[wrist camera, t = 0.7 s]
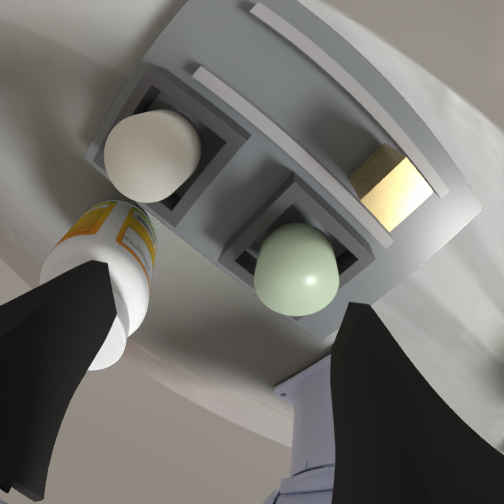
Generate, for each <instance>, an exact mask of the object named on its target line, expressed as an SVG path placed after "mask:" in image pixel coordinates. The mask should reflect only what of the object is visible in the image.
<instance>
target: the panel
mask: <svg viewBox="0 0 504 504" xmlns="http://www.w3.org/2000/svg"><path fill="white" fill-rule="evenodd" d="M158 109H170V110H174V111H177V112H179V113H181V114H183V115H185V116H186V117H187V118H188V119H190V120H191V122H192V123H193V124H194V125H195V127H196V128H197V130H198V132H199V135H200V138H201V143H202V154H201V159H200V162H199V165H198V167H197V169H196V170H195V171H194V173H193V174H192V175H191V176H190V177H189V178H188V179H187V180H186V181H185V182H184V183H183V184H182V185H180V186H179V187H178V188H177V189H176V190H175V191H174V192H173V193H172V194H171V195H170V196H168V197H167V198H165V199H163V200H161V201H157V202H152V203H143V202H138V201H135V202H136V203H138V204H139V205H140V206H141V207H143V208H144V209H145V210H146V211H148V212H149V213H150V214H151V215H152V216H154V217H155V218H156V219H157V220H159V221H160V222H161V223H163V224H164V225H165V226H166V227H168V228H169V229H170V230H171V231H173V232H174V233H175V234H176V235H178V236H179V237H180V238H181V239H183V240H184V241H185V242H187V243H188V244H189V245H190V246H192V247H193V248H194V249H196V250H197V251H198V252H199V253H201V254H202V255H203V256H205V257H206V258H207V259H208V260H210V261H211V262H212V263H214V264H215V265H216V266H218V267H219V268H220V269H221V270H223V271H224V272H225V273H227V274H228V275H229V276H231V277H232V278H233V279H235V280H236V281H237V282H238V283H240V284H241V285H242V286H244V287H245V288H246V289H248V290H249V291H250V292H252V293H253V294H254V295H256V296H257V297H258V295H257V293H256V291H255V288H254V274H255V269H256V265H257V260H258V255H259V251H260V247H261V244H262V242H263V240H264V239H265V237H266V236H267V235H268V234H269V233H270V232H271V231H272V230H274V229H275V228H277V227H279V226H281V225H284V224H288V223H305V224H309V225H312V226H314V227H316V228H318V229H320V230H321V231H322V232H324V233H325V235H326V236H327V237H328V238H329V240H330V241H331V243H332V246H333V250H334V254H335V259H336V264H337V270H338V275H339V287H338V290H337V293H336V295H335V297H334V298H333V300H332V301H331V302H330V303H329V304H328V305H327V306H326V307H324V308H323V309H321V310H320V311H318V312H315V313H313V314H309V315H304V316H288V315H283V314H281V315H283V316H284V317H285V318H287V319H288V320H289V321H291V322H292V323H293V324H295V325H296V326H298V327H299V328H300V329H302V330H303V331H304V332H306V333H307V334H309V335H310V336H311V337H313V338H314V339H316V340H317V341H318V342H319V341H321V340H322V339H324V338H325V337H327V336H328V335H330V334H331V333H333V332H334V331H335V330H337V329H338V328H340V326H341V323H342V320H343V317H344V315H345V312H346V309H347V306H348V303H349V302H356V303H364V304H369V305H371V304H373V303H374V302H375V301H377V300H378V299H379V298H381V297H382V296H383V295H385V294H386V293H387V292H388V291H390V290H391V289H392V288H394V287H395V286H396V285H397V284H399V283H400V282H401V281H402V280H404V279H405V278H406V277H407V276H408V275H410V274H411V273H412V272H413V271H415V270H416V269H417V268H418V267H419V266H421V265H422V264H423V263H424V262H425V261H426V260H428V259H429V258H430V257H431V256H432V255H433V254H435V253H436V252H437V251H438V250H439V249H440V248H441V247H443V246H444V245H445V244H446V243H447V242H448V241H449V240H450V239H451V238H453V237H454V236H455V235H456V234H457V233H458V232H459V231H460V230H461V229H462V228H463V227H464V226H466V225H467V224H468V223H469V222H470V221H471V220H472V219H473V218H474V217H475V216H476V215H477V214H478V213H479V212H480V211H481V210H482V209H483V208H482V206H481V204H480V203H479V201H478V199H477V198H476V196H475V194H474V193H473V191H472V189H471V188H470V186H469V184H468V183H467V181H466V180H465V178H464V177H463V175H462V174H461V172H460V171H459V169H458V168H457V166H456V165H455V163H454V162H453V160H452V159H451V157H450V156H449V155H448V153H447V152H446V150H445V149H444V148H443V146H442V145H441V143H440V142H439V141H438V139H437V138H436V137H435V135H434V134H433V133H432V132H431V130H430V129H429V128H428V126H427V125H426V124H425V123H424V121H423V120H422V119H421V118H420V117H419V115H418V114H417V113H416V112H415V111H414V109H413V108H412V107H411V106H410V105H409V103H408V102H407V101H406V100H405V99H404V98H403V97H402V96H401V94H400V93H399V92H398V91H397V90H396V89H395V88H394V87H393V86H392V85H391V83H390V82H389V81H388V80H387V79H386V78H385V77H384V76H383V75H382V74H381V73H380V72H379V71H378V70H377V69H376V68H375V67H374V66H373V65H372V64H371V63H370V62H369V61H368V60H367V59H366V58H365V57H364V56H363V55H362V54H361V53H360V52H358V51H357V50H356V49H355V48H354V47H353V46H352V45H351V44H350V43H349V42H347V41H346V40H345V39H344V38H343V37H342V36H341V35H339V34H338V33H337V32H336V31H335V30H334V29H332V28H331V27H330V26H329V25H328V24H326V23H325V22H324V21H323V20H321V19H320V18H319V17H318V16H316V15H315V14H314V13H312V12H311V11H310V10H309V9H307V8H306V7H305V6H303V5H302V4H300V3H299V2H298V1H296V0H188V1H187V2H186V3H185V5H184V6H183V7H182V8H181V9H180V10H179V12H178V13H177V14H176V15H175V16H174V18H173V19H172V20H171V21H170V22H169V24H168V25H167V26H166V27H165V29H164V30H163V31H162V32H161V34H160V35H159V36H158V38H157V39H156V40H155V42H154V43H153V44H152V46H151V47H150V48H149V50H148V51H147V52H146V54H145V55H144V57H143V58H142V59H141V61H140V62H139V64H138V65H137V67H136V68H135V70H134V71H133V73H132V74H131V76H130V77H129V79H128V80H127V82H126V83H125V85H124V86H123V88H122V90H121V91H120V93H119V94H118V96H117V98H116V99H115V101H114V103H113V104H112V106H111V108H110V109H109V111H108V113H107V115H106V116H105V118H104V120H103V122H102V123H101V125H100V127H99V129H98V131H97V133H96V134H95V136H94V138H93V140H92V142H91V144H90V146H89V148H88V150H87V152H86V154H85V156H84V158H83V159H84V160H85V161H87V162H88V163H89V164H90V165H91V166H93V167H94V168H95V169H96V170H97V171H99V172H100V173H101V174H102V175H103V176H105V177H106V178H107V179H108V180H109V181H111V180H110V178H109V177H108V174H107V172H106V168H105V163H104V149H105V144H106V141H107V138H108V136H109V134H110V132H111V131H112V129H113V128H114V127H115V126H116V125H117V124H118V123H119V122H120V121H122V120H123V119H125V118H127V117H130V116H133V115H137V114H141V113H145V112H149V111H154V110H158ZM383 143H386V144H387V145H389V146H391V147H392V148H394V149H395V150H397V151H398V152H399V153H401V154H402V155H404V156H405V157H407V159H408V160H409V161H410V162H411V164H412V165H413V166H414V167H415V168H416V170H417V171H418V172H419V174H420V175H421V176H422V177H423V179H424V180H425V181H426V183H427V184H428V185H429V186H430V188H431V189H432V190H433V193H432V194H431V195H430V196H428V197H427V198H426V199H425V200H424V201H423V202H422V203H421V204H420V205H419V206H418V207H417V208H416V209H415V210H413V211H412V212H411V213H410V214H409V215H408V216H407V217H406V218H405V219H404V220H402V221H401V222H400V223H399V224H398V225H397V226H396V227H395V228H393V229H392V230H391V231H390V232H389V231H388V230H387V229H386V228H385V227H384V226H383V225H382V223H381V222H380V221H379V220H378V219H377V218H376V217H375V216H374V215H373V214H372V213H371V212H370V211H369V210H368V208H367V207H366V206H365V205H364V204H363V203H362V202H361V201H360V200H359V198H358V196H357V194H356V192H355V190H354V189H353V187H352V185H351V183H350V182H349V180H348V177H349V176H350V175H351V174H352V173H353V172H354V171H355V170H356V169H357V168H358V167H359V166H360V165H361V164H362V163H363V162H364V161H365V160H367V159H368V158H369V157H370V156H371V155H372V154H373V153H374V152H375V151H376V150H377V149H378V148H379V147H380V146H381V145H382V144H383ZM258 298H259V297H258Z"/></svg>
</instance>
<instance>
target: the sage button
mask: <svg viewBox="0 0 504 504" xmlns="http://www.w3.org/2000/svg"><path fill="white" fill-rule="evenodd" d="M338 287H339V275H338V270H337V264H336V259H335V254H334V250H333V246H332V243H331V241H330V240H329V238H328V237H327V236H326V235H325V233H324V232H322V231H321V230H320V229H318V228H316V227H314V226H312V225H309V224H305V223H288V224H284V225H281V226H279V227H277V228H275V229H274V230H272V231H271V232H270V233H269V234H268V235H267V236H266V237H265V239H264V240H263V242H262V244H261V247H260V251H259V255H258V260H257V265H256V269H255V274H254V288H255V291H256V293H257V295H258V297H259V299H260V300H261V301H262V302H263V303H264V304H265V305H266V306H267V307H268V308H270V309H271V310H273V311H275V312H277V313H280V314H283V315H288V316H304V315H309V314H313V313H315V312H318V311H320V310H321V309H323V308H324V307H326V306H327V305H328V304H329V303H330V302H331V301H332V300H333V298H334V297H335V295H336V293H337V290H338Z"/></svg>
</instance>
